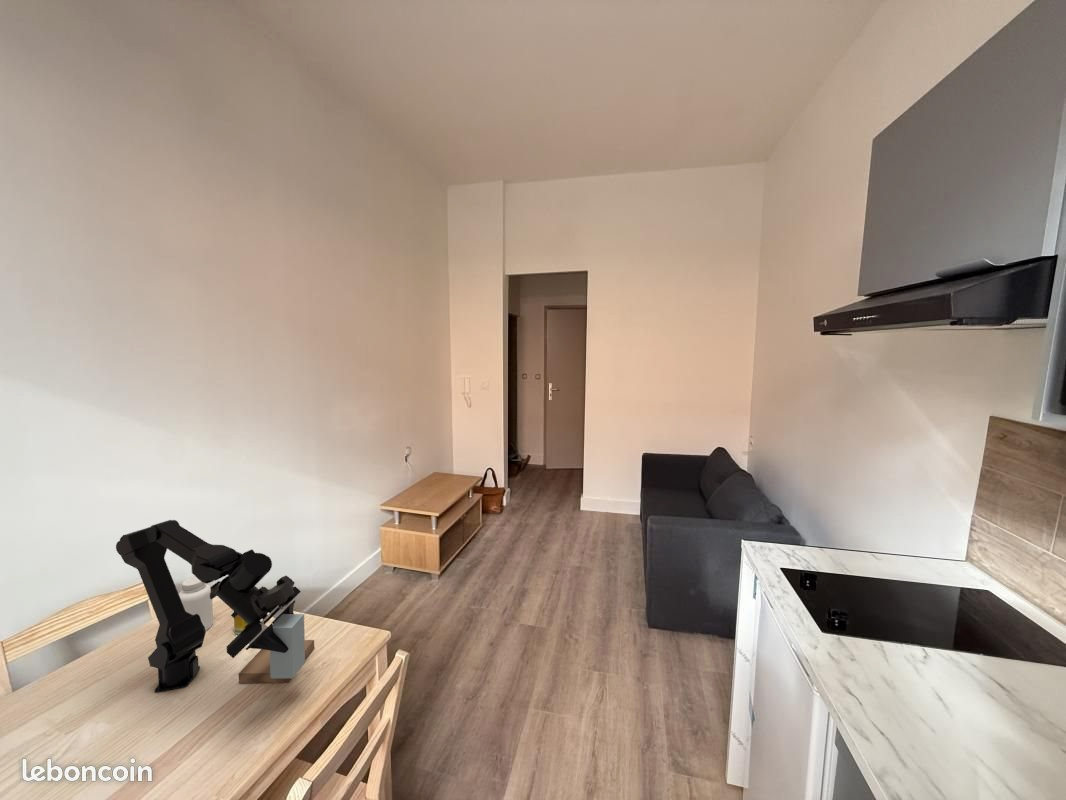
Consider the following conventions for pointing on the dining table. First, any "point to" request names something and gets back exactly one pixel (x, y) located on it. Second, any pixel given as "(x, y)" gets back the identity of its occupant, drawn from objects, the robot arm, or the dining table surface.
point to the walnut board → (266, 667)
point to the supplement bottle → (239, 624)
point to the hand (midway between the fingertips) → (293, 643)
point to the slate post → (294, 639)
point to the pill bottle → (197, 600)
